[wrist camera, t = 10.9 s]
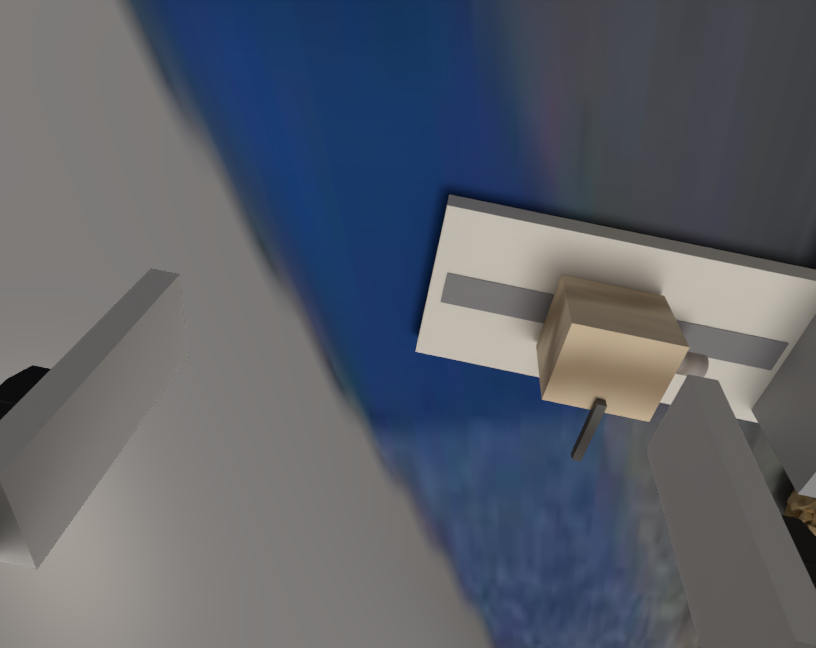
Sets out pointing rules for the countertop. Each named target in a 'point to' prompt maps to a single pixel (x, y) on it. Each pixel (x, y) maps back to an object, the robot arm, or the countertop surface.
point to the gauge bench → (640, 270)
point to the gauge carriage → (610, 352)
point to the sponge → (802, 509)
